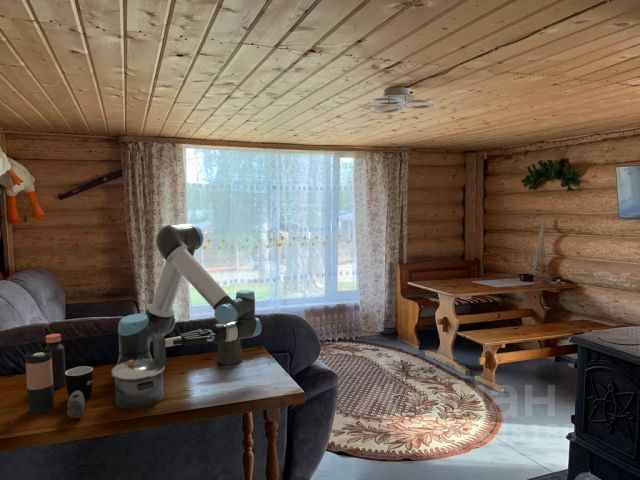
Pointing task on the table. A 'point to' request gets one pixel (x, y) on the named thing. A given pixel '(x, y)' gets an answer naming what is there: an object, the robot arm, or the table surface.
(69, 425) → the table surface
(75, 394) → the perforated stone tool
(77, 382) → the mug
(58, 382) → the bottle
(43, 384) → the travel mug
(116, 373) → the lid
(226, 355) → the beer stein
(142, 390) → the cooker pot
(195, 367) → the table surface
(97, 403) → the table surface
